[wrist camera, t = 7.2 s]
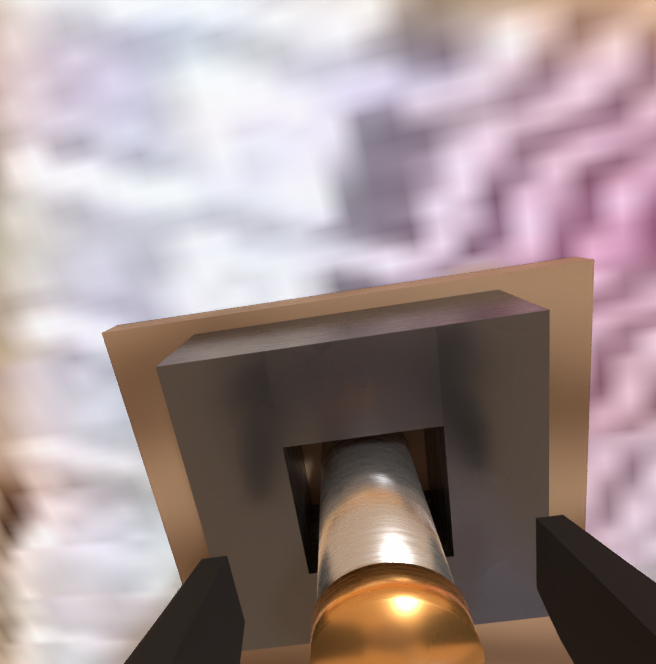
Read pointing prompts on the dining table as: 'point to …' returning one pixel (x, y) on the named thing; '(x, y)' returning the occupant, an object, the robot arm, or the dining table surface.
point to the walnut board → (564, 431)
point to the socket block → (366, 420)
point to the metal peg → (383, 564)
